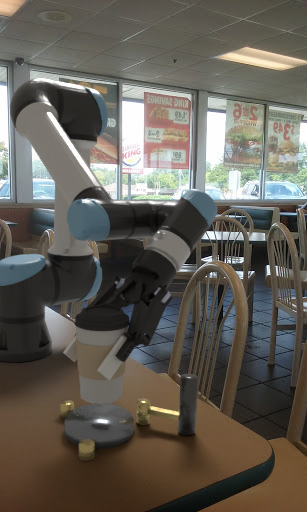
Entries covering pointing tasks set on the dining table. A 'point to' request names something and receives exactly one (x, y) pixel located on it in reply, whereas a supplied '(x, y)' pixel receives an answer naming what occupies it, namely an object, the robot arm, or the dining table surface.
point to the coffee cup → (99, 351)
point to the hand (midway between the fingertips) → (85, 366)
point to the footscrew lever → (186, 407)
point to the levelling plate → (96, 426)
